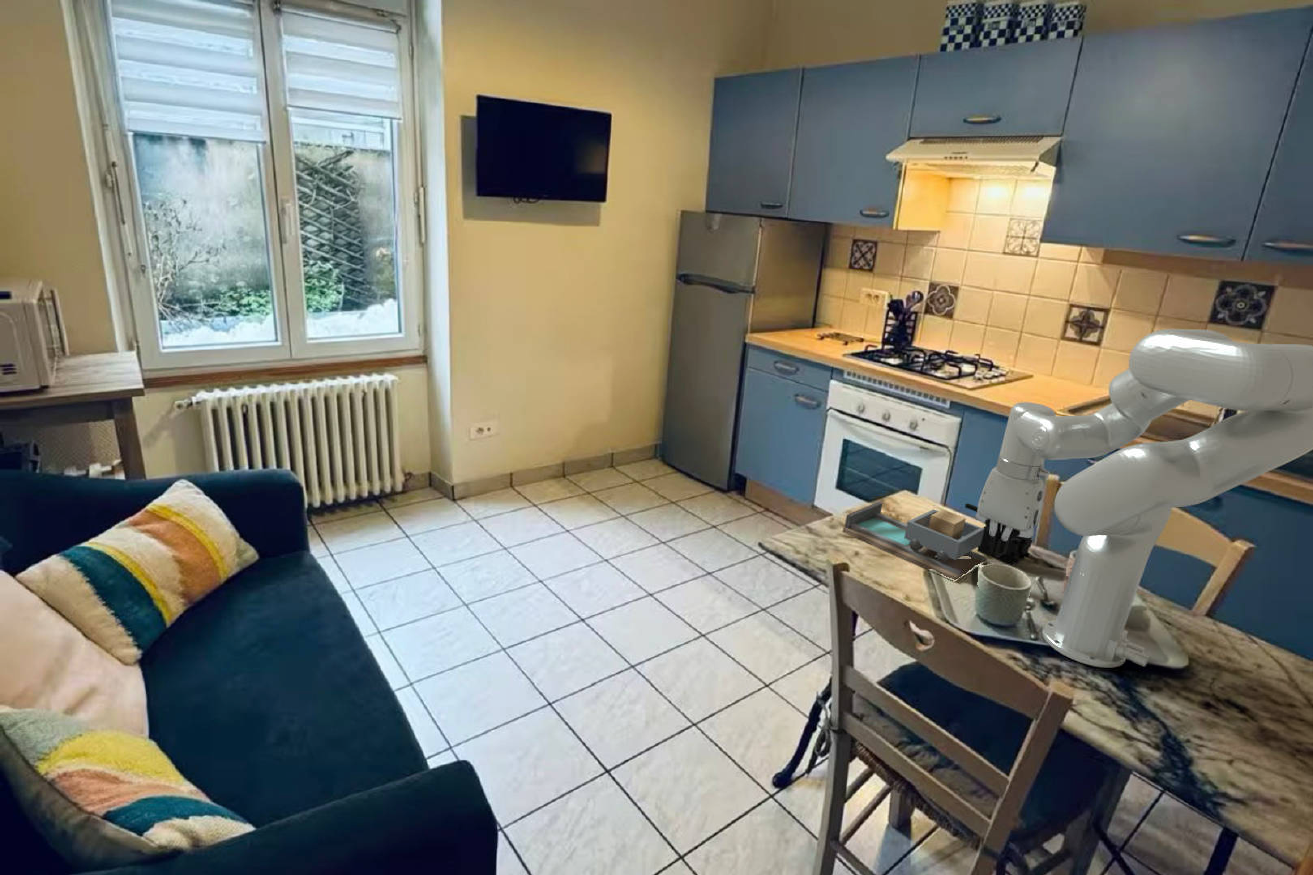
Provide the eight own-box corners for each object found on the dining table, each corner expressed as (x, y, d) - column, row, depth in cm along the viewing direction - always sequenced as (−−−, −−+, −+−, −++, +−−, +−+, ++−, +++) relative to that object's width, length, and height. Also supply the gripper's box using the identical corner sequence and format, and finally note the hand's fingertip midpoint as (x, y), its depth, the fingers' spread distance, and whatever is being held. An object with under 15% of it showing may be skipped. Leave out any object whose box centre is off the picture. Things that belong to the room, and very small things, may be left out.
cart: (978, 552, 149) (984, 528, 147) (953, 567, 142) (959, 542, 140) (928, 531, 157) (933, 509, 155) (902, 545, 149) (907, 521, 148)
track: (986, 562, 150) (990, 545, 148) (954, 582, 141) (959, 564, 139) (876, 516, 167) (879, 501, 166) (842, 531, 158) (845, 515, 157)
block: (960, 539, 148) (965, 518, 147) (949, 546, 145) (954, 524, 143) (937, 530, 152) (942, 509, 150) (926, 536, 148) (931, 515, 147)
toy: (966, 533, 163) (976, 493, 160) (1029, 559, 153) (1041, 516, 150) (950, 541, 158) (959, 500, 155) (1014, 568, 148) (1026, 525, 145)
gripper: (1068, 477, 132) (1042, 565, 138) (988, 452, 142) (968, 535, 148) (1052, 485, 127) (1027, 576, 133) (971, 459, 137) (950, 544, 143)
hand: (996, 554), depth 141 cm, fingers closed
